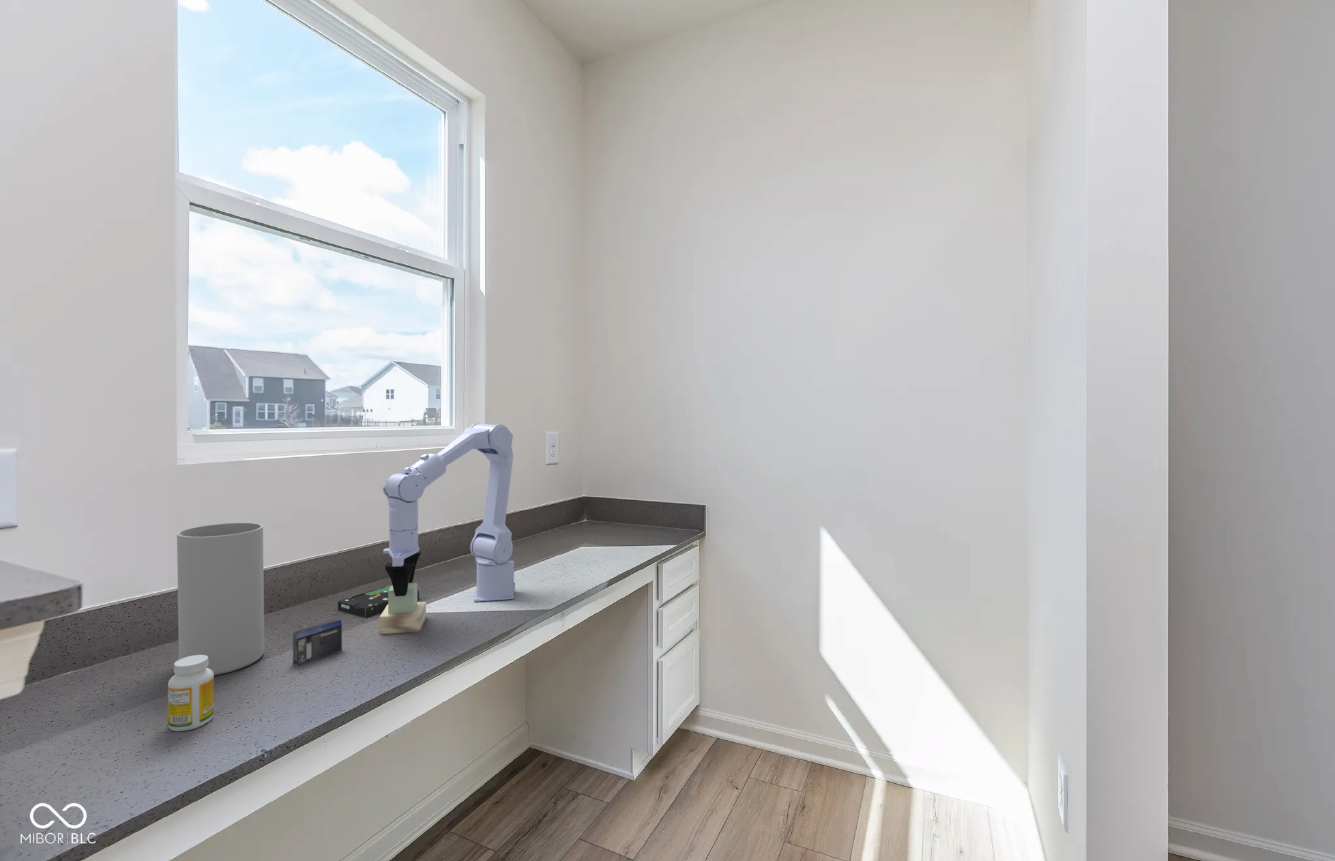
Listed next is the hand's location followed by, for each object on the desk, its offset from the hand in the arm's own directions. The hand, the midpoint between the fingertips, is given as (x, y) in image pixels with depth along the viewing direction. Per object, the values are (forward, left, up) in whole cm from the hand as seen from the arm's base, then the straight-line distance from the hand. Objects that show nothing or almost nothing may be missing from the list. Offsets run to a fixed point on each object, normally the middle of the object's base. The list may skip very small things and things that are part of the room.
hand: (403, 589), depth 125 cm
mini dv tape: (+13, +13, -8) cm, 20 cm away
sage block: (0, 0, -4) cm, 4 cm away
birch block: (0, 0, -8) cm, 8 cm away
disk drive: (+8, -16, -9) cm, 20 cm away
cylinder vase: (+29, +12, -8) cm, 33 cm away
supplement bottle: (+24, +34, -8) cm, 42 cm away
